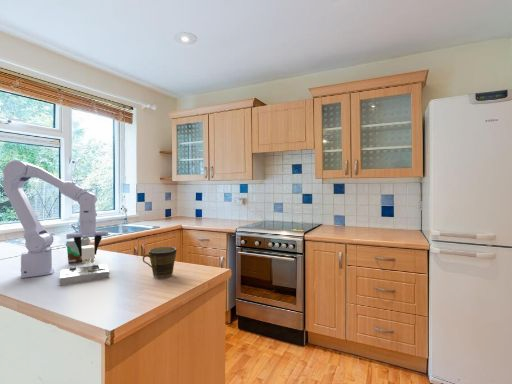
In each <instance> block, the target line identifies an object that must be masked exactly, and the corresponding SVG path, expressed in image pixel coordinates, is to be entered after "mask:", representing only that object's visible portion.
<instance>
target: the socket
mask: <svg viewBox="0 0 512 384" xmlns="http://www.w3.org/2000/svg"><path fill="white" fill-rule="evenodd" d="M109 278H110V271H109V268H108V265H107V264H106V263H105V264H99V263H97V264H96V263H95V264H92V265H87V266H82V267H81V266H80V267H76V266H73V267H69V268H67V269H66V268H64V269H61V270H60V274H59V286H65V285H72V284H79V283H80V284H81V283H86V282H92V281H98V280H99V281H100V280H105V279H109Z"/></svg>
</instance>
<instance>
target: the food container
mask: <svg viewBox="0 0 512 384" xmlns="http://www.w3.org/2000/svg"><path fill="white" fill-rule="evenodd" d="M90 244H91V239H90V237H84V238H81V250H82V246H89V245H90ZM65 247H66V250H67V263H68V265H69V264H79V263H80V264H81V263H82V256H80V253H79V250H78V247H77V245H76V243H75V242H74V240H72V241H69V240H68V241H66V243H65ZM85 262H87V259H86V260H85Z"/></svg>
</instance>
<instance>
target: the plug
mask: <svg viewBox="0 0 512 384" xmlns="http://www.w3.org/2000/svg"><path fill="white" fill-rule="evenodd" d="M95 258H96V257H95V247H94V245H93V244H89V246H82V262H81V263H82V264H86V262H88V263H89V262H90V263H93V264H94V263H95ZM86 259H87V261H85V260H86Z"/></svg>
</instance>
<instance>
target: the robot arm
mask: <svg viewBox="0 0 512 384" xmlns="http://www.w3.org/2000/svg"><path fill="white" fill-rule="evenodd" d="M2 173H3V179H2V189H3V191H4V193H5V195H6V197H7V199H8V201H9V203H10V204H11V206H12V208H13V210H14V213H15V214H16V216H17V219H19V222H20V224H21V226H22V228H23V230H24V233H23V238H24V239H25V244H24V245H25V248H26V249H27V251H25V252H22V253H21V255H20V279H24V278H31V277H40V276H46V275H52V274H53V273H54V270H55V268H53V267H52V265H53V263H52V262H53V261H52V259H53V258H52V257H53V256H52V252H53V251H52V247H51V246H52V245H53V242H54V236H53V234H52V233H50V232H48V230H47V228H46V227H45V226H43V225H42V224H41V222H40V220H39V218H38V216H37V213H35V210H34V208H33V207H32V205H31V202H30V200H29V198H28V196H27V195H26V193H25V190H24V189H23V187H24V185H25V184H26V182H27V181H29V180H30V179H31V178H37V179H40V180H42V181H44V182H45V183H48V184H49V185H52V186H54V187H56V188H57V189H58V190H59V192H60V194H61V195H64V196H65V197H67V198H68V199H71V200H72V201H75V202H77V203H78V205H79V232H72V233H66V236H65V237H66V240H70V239H73V241H74V242H75V243H76V245H77V247H78V250H79V253H80V256H82V250H81V239H83V238H84V237H88V238H92V237H94V241H93V244H94V247H95V255H97V251H98V247H99V246H100V242H101V241H102V237H108V236H109V231H108V230H97V217H96V216H97V215H96V214H97V210H96V203H97V201H98V197H97V195H96V194H95V193H94V192H93V191H88V189H87V188H83V187H81V186H79V185H77V182H75V181H71V180H67V181H64V180H62V179H61V178H58V177H57V176H55V175H54V174H52V173H51V172H48V170H45V169H43V168H42V167H40V166H37V165H35V164H32V162H31V163H30V162H26V161H21V160H16V159H14V160H10V161H8V162H7V163H6V164H5V166H4V167H3V169H2Z"/></svg>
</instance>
